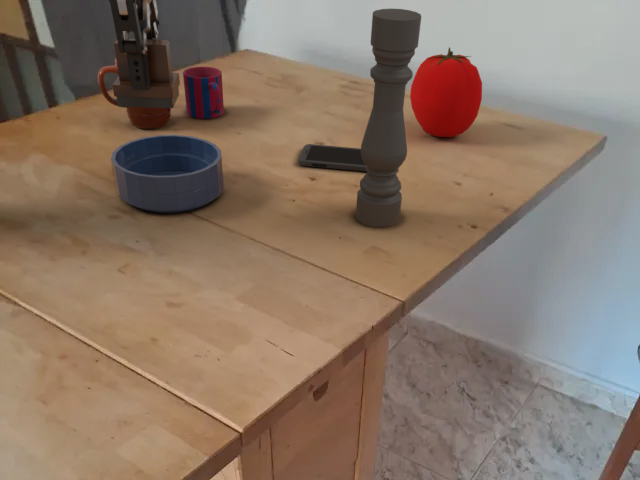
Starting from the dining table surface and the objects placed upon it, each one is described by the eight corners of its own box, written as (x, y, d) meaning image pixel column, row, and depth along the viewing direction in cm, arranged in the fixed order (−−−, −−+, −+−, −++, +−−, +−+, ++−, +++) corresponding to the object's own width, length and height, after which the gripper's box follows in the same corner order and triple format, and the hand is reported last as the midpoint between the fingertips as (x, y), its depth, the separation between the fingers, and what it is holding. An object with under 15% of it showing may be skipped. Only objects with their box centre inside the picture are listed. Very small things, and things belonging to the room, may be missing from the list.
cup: (217, 104, 128) (215, 65, 123) (234, 123, 121) (232, 81, 117) (182, 108, 126) (178, 68, 121) (197, 127, 119) (194, 85, 115)
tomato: (461, 152, 115) (476, 66, 106) (394, 137, 119) (403, 53, 110) (485, 131, 122) (500, 49, 113) (421, 117, 126) (431, 37, 117)
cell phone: (384, 173, 107) (385, 168, 107) (297, 165, 108) (297, 160, 108) (388, 155, 112) (388, 150, 112) (304, 147, 114) (304, 143, 113)
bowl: (95, 199, 98) (87, 161, 94) (162, 163, 107) (157, 127, 104) (182, 226, 93) (177, 186, 89) (243, 185, 102) (242, 148, 99)
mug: (168, 112, 124) (161, 49, 117) (182, 129, 118) (175, 64, 111) (101, 120, 120) (90, 55, 113) (112, 137, 115) (100, 71, 108)
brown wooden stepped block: (115, 107, 82) (105, 47, 78) (125, 92, 86) (116, 34, 82) (174, 109, 82) (168, 49, 78) (181, 94, 86) (175, 36, 82)
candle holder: (372, 231, 93) (391, 23, 76) (346, 213, 97) (359, 11, 80) (408, 221, 96) (434, 17, 79) (382, 203, 100) (402, 6, 82)
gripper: (102, -104, 76) (126, 62, 88) (68, -87, 66) (101, 99, 77) (170, -101, 76) (185, 64, 88) (147, -83, 66) (168, 102, 77)
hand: (146, 80), depth 83 cm, fingers closed on brown wooden stepped block, 5 cm apart
